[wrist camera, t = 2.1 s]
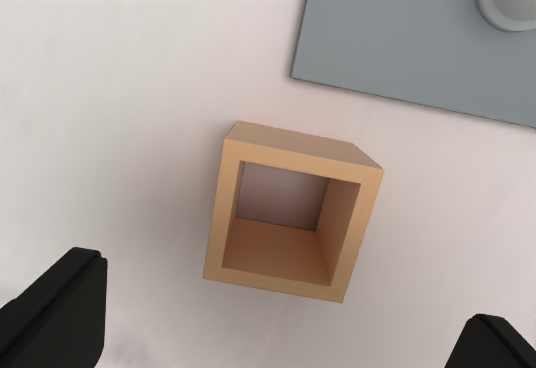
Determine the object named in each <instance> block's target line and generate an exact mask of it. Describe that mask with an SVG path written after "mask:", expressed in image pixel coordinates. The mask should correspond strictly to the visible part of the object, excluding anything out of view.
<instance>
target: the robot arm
mask: <svg viewBox="0 0 536 368" xmlns="http://www.w3.org/2000/svg"><path fill="white" fill-rule="evenodd" d="M107 265H108V263H107V259H106V258H102V257H101V253H100V252H99V251H97V250H91V249H85V248H79V247H73V248H72V249H70V250H69V251H68V252H67V253H66V254H65V255H64V256H62V257H61V258H60V259H59V260H58V261H57V262H56V263H55V264H54V265H53V266H51V267H50V268H49V269H48V270H47V271H46V272H45V273H44V274H43V275H41V276H40V277H39V278H38V279H37V280H36V281H35V282H34V283H33V284H32V285H30V286H29V287H28V288H27V289H26V290H25V291H24V292H23V293H22V294H20V295H19V296H18V297H17V298H16V299H13V300H11V301H10V302H8V303H7V304H5V305H4V306H3V307H2V308H1V309H0V368H94V367H95V366H96V364H97V362H98V360H99V358H100V356H101V354H102V351H103V347H104V336H105V313H106V289H107ZM444 368H536V350H535V349H534V348H533V347H532V346H531V345H530V344H529V343H528V342H527V341H526V340H525V339H524V338H523V337H522V336H521V335H520V334H519V333H518V332H517V331H516V330H515V329H514V328H513V327H512V326H511V325H510V323H509V322H508V321H506V320H505V319H504V318H502V317H498V316H492V315H486V314H476V315H474V316H473V317H472V318H470V319H469V320H468V321H467V322H466V324H465V326H464V328H463V330H462V332H461V334H460V336H459V339H458V341H457V343H456V345H455V347H454V349H453V351H452V353H451V355H450V357H449V359H448V361H447V363H446V365H445V367H444Z"/></svg>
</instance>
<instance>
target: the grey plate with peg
mask: <svg viewBox="0 0 536 368" xmlns="http://www.w3.org/2000/svg"><path fill="white" fill-rule="evenodd" d="M290 77H292V78H297V79H301V80H306V81H311V82H316V83H321V84H326V85H330V86H335V87H340V88H345V89H350V90H355V91H359V92H364V93H369V94H374V95H379V96H384V97H389V98H393V99H398V100H403V101H408V102H413V103H418V104H422V105H427V106H432V107H437V108H442V109H447V110H452V111H456V112H461V113H466V114H471V115H476V116H481V117H485V118H490V119H495V120H500V121H505V122H510V123H514V124H519V125H524V126H529V127H534V128H536V0H306V3H305V8H304V13H303V18H302V23H301V28H300V33H299V37H298V42H297V47H296V52H295V57H294V62H293V67H292V71H291V76H290Z"/></svg>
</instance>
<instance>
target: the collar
mask: <svg viewBox="0 0 536 368" xmlns="http://www.w3.org/2000/svg"><path fill="white" fill-rule="evenodd" d="M245 161H246V162H252V163H257V164H262V165H267V166H272V167H277V168H283V169H288V170H293V171H298V172H303V173H309V174H314V175H319V176H324V177H329V178H330V179H329V183H328V186H327V190H326V194H325V198H324V201H323V205H322V209H321V213H320V216H319V220H318V224H317V228H316V231H315V232H313V231H308V230H303V229H297V228H292V227H286V226H281V225H276V224H270V223H265V222H259V221H254V220H249V219H243V218H238V217H235V214H236V209H237V203H238V197H239V192H240V186H241V181H242V175H243V169H244V164H245ZM383 173H384V169H383V168H382V167H380V166H379V165H378V164H377V163H376V162H374V161H373V160H372V159H371V158H370V157H368V156H367V155H366V154H365V153H364V152H362V151H361V150H360V149H359V148H357V147H356V146H355V145H354V144H353V143H348V142H343V141H338V140H333V139H328V138H323V137H318V136H313V135H308V134H303V133H298V132H293V131H288V130H283V129H278V128H273V127H268V126H263V125H258V124H253V123H248V122H242V121H238V122H237V123H236V124H235V126H234V127H233V128H232V129H231V131H230V132H229V133H228V134H227V136H226V137H225V138H224V143H223V150H222V156H221V163H220V169H219V176H218V182H217V189H216V195H215V202H214V208H213V214H212V221H211V227H210V234H209V240H208V247H207V253H206V260H205V266H204V272H203V279H207V280H213V281H219V282H224V283H230V284H236V285H241V286H247V287H253V288H258V289H264V290H270V291H276V292H281V293H287V294H293V295H298V296H304V297H310V298H315V299H321V300H327V301H333V302H338V303H342V302H343V299H344V296H345V293H346V289H347V286H348V283H349V280H350V277H351V274H352V271H353V267H354V264H355V261H356V258H357V255H358V252H359V249H360V245H361V242H362V239H363V236H364V233H365V230H366V227H367V223H368V220H369V217H370V214H371V211H372V208H373V205H374V201H375V198H376V195H377V192H378V189H379V186H380V183H381V179H382V176H383Z"/></svg>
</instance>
